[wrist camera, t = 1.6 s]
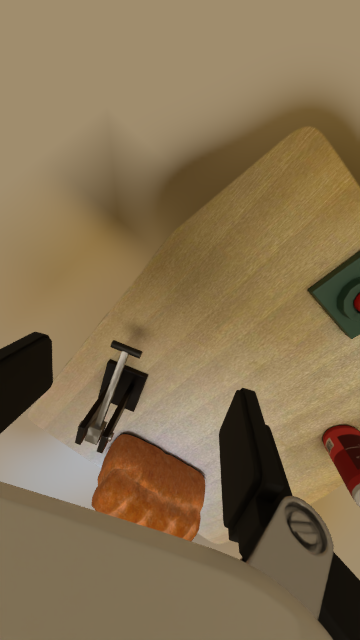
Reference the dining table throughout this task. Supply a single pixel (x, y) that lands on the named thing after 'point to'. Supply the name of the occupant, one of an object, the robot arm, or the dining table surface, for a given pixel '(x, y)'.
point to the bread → (150, 488)
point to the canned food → (345, 456)
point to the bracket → (114, 401)
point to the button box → (341, 295)
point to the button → (357, 302)
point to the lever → (110, 392)
